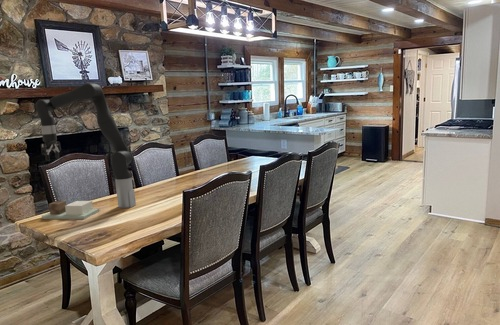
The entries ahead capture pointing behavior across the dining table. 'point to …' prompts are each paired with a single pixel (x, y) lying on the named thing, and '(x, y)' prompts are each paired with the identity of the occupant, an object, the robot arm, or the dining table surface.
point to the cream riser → (79, 207)
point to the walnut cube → (57, 207)
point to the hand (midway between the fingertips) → (52, 159)
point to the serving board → (64, 216)
